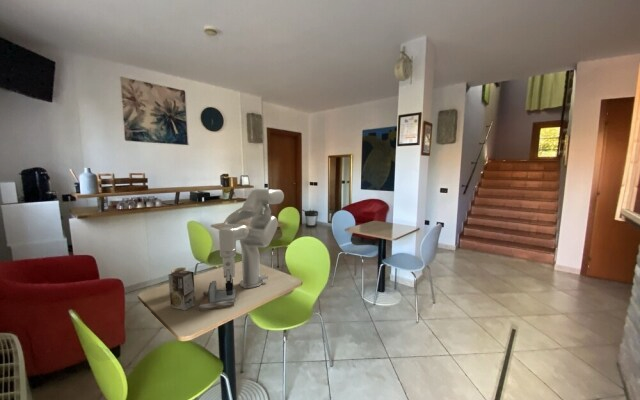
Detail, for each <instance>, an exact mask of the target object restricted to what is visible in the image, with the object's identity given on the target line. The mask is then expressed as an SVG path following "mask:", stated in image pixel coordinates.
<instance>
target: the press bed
mask: <svg viewBox="0 0 640 400" xmlns="http://www.w3.org/2000/svg"><path fill="white" fill-rule="evenodd" d="M233 289H235V287H233ZM224 290H226V288H221V289H217V291H224ZM202 294H203V295H202V298H201V302H200V304H199V305H198V309H199V311H200V312H201V311H206V310H213V309H220V308H228V307H234V306H235V301H234V300H232V301H224V302H217V303H210V301H209V302H208V290H205V291H203V292H202Z"/></svg>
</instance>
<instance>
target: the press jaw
mask: <svg viewBox="0 0 640 400" xmlns="http://www.w3.org/2000/svg"><path fill="white" fill-rule="evenodd" d="M230 276H231V275H230ZM230 279H231V278H230ZM217 290H218V289H217V280H212V281H211V282H209V286H208V289H207V291H208V302H209V301H210V303H217V302H224V301H232V300H234V302H235V301H236V289H235V288H234V289H233V290H231V291H226V290H224V291H217Z"/></svg>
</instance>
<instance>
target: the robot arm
mask: <svg viewBox="0 0 640 400" xmlns="http://www.w3.org/2000/svg"><path fill="white" fill-rule="evenodd" d="M284 199H285V193H284V192H283V190H281V189H269V188H267V189H266V188H265V189H263V188H258V189H257V188H256V189H255V188H254V189H253V190H252V191H251V192H250V193H249V195H248V197H247V198H246V200H245V201H244V203H243V205H242V207H240V208H238V209H236V210H235V211H233V212H232V213H230V214H229V215H228V216H227V217H226V218H225V220H224V222H223V223H222V225H221V228H220V229H219V231H218V239H219V257H220V258H222V270H223V278H224V279H225V289H226V291H231V290H233V288H234V279H233V278H235V276H236V264H235V263H236V262H235V257H236V256H237V241H239V243H240V248H241V249H240V250H241V270H242V271H241V274H242V275H241V277H242V280H240V281H239V286H240V287H242V288H245V289H253V288H257V287H259V286H261V285H262V284H264V281H265V280H269V276H268V275H266V274H263V275H262V274H261V270H260V269H261V268H260V266H261V265H260V264H261V263H260V251H259V248H266V247H268V246H269V245H270V244H271V241H272V240H273V238H274V236H275V234H276V232H277V229H278V226H279V225H278V224H279V223H278V219H277V217H276V216H275V215H272V209H271V208H270V206H269V205H279V204H282V203H283V201H284ZM250 218H251V220H250V222H249V226H247V225H245V224H239V222H241V221H244V220H249V219H250ZM249 227H250V228H249ZM230 275H231V276H230ZM230 278H231V279H230Z"/></svg>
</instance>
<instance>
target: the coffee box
mask: <svg viewBox="0 0 640 400" xmlns="http://www.w3.org/2000/svg"><path fill="white" fill-rule="evenodd" d="M194 272H195V271H190V270H189V271H183V270H178V271H176V272H173V273H172V274H171V273H169V274H168V286H169V287H168V288H169V300H170V308H173V309H176V310H177V309H178V310H182V311H186V310H188V309H190V308H191V307H193V306H195V305H196V295H195V293H196V291H195V280H194V279H195V277H194Z"/></svg>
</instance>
